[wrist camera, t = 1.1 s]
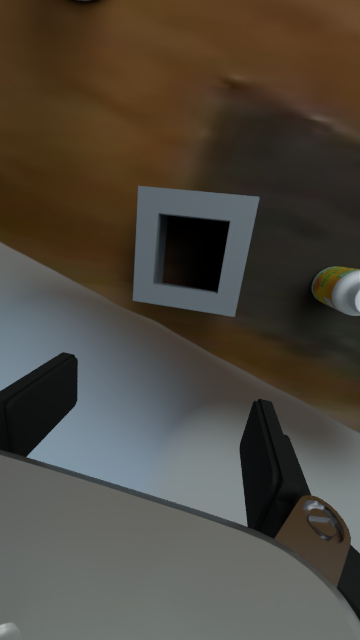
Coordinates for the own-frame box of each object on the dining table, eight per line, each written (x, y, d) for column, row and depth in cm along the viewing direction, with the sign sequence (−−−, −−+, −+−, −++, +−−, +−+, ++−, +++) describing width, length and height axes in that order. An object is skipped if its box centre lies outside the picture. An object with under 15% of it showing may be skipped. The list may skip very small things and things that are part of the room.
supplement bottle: (334, 258, 30) (383, 260, 21) (360, 283, 31) (420, 297, 22) (302, 286, 32) (335, 300, 23) (327, 310, 33) (370, 332, 24)
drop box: (164, 207, 32) (138, 185, 22) (245, 215, 31) (259, 196, 20) (157, 286, 36) (132, 300, 26) (229, 297, 35) (234, 316, 24)
